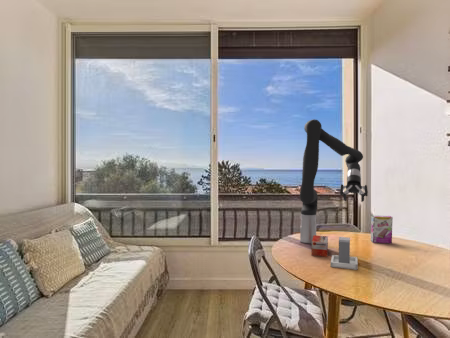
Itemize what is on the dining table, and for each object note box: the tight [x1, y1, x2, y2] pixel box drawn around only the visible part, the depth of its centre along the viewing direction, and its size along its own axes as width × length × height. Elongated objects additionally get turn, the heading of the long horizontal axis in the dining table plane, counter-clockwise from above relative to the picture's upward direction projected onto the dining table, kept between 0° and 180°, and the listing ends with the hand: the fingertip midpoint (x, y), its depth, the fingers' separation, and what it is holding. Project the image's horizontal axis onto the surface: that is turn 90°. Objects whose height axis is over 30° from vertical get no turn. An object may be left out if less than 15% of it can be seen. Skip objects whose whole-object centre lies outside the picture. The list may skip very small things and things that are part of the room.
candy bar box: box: [370, 214, 393, 244], centre depth 202 cm, size 11×5×16 cm, turn 84°
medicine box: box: [311, 234, 329, 258], centre depth 182 cm, size 15×8×8 cm, turn 162°
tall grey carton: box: [338, 236, 351, 264], centre depth 161 cm, size 5×6×12 cm
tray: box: [330, 254, 359, 270], centre depth 161 cm, size 12×13×2 cm
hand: (353, 200), depth 180 cm, fingers open, 8 cm apart
